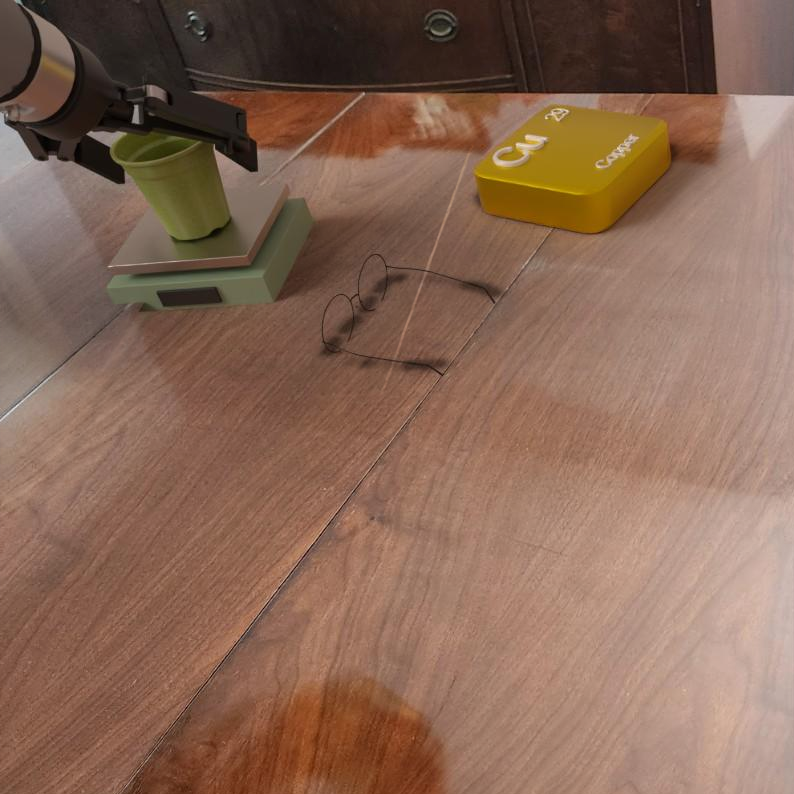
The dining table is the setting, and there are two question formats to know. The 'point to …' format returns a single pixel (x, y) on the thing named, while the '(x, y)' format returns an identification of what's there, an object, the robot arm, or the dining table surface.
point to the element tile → (574, 168)
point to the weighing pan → (220, 248)
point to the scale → (224, 272)
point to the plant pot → (176, 181)
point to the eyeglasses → (381, 300)
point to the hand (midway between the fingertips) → (186, 163)
